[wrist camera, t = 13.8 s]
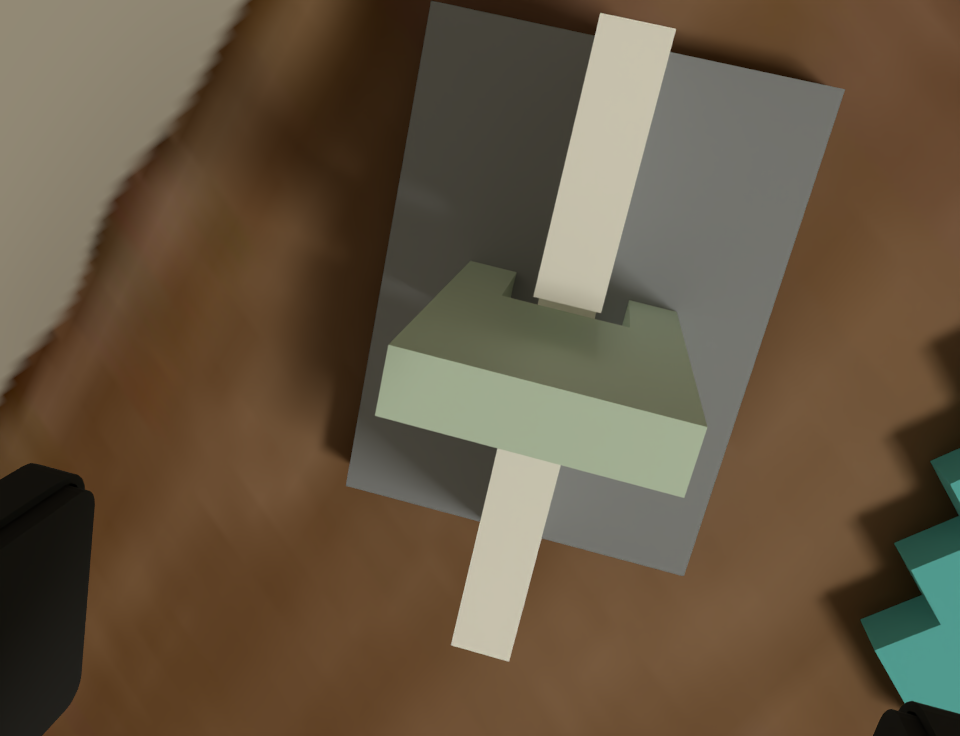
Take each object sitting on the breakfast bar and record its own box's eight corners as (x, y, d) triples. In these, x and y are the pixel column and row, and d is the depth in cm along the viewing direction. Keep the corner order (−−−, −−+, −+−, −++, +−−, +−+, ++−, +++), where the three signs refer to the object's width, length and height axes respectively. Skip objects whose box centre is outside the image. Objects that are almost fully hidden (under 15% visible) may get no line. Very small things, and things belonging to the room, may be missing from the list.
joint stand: (680, 554, 30) (701, 715, 22) (358, 468, 31) (267, 593, 23) (832, 90, 25) (930, 83, 17) (441, 6, 26) (361, -38, 18)
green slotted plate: (676, 311, 26) (707, 427, 17) (662, 360, 27) (683, 498, 17) (470, 260, 27) (388, 344, 17) (460, 308, 27) (374, 415, 18)
